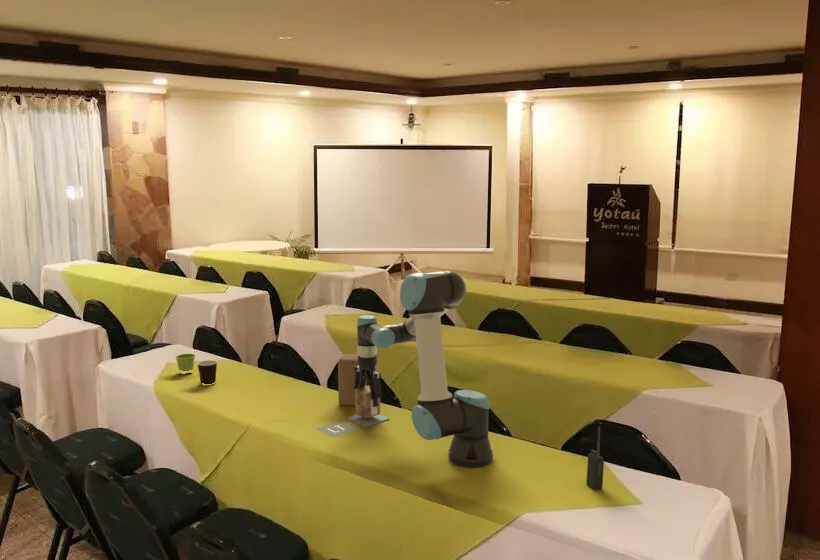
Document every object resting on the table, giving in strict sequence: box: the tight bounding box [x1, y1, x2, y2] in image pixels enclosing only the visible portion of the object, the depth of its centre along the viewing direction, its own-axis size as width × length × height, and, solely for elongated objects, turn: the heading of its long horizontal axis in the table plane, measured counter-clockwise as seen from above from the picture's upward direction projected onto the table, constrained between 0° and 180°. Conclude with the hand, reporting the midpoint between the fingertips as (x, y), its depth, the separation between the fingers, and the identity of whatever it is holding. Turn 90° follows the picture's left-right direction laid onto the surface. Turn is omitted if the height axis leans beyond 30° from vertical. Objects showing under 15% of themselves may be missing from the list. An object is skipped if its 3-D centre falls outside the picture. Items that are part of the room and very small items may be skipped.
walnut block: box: [354, 385, 381, 418], centre depth 262 cm, size 7×7×10 cm
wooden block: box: [337, 353, 368, 407], centre depth 281 cm, size 10×10×20 cm
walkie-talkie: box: [585, 426, 605, 491], centre depth 205 cm, size 5×3×20 cm
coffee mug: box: [196, 359, 218, 384], centre depth 308 cm, size 12×9×10 cm
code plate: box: [314, 420, 360, 438], centre depth 253 cm, size 12×12×1 cm
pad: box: [346, 413, 390, 428], centre depth 263 cm, size 12×12×1 cm
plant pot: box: [174, 353, 196, 371], centre depth 323 cm, size 9×9×9 cm
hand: (367, 411), depth 262 cm, fingers closed on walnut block, 7 cm apart
